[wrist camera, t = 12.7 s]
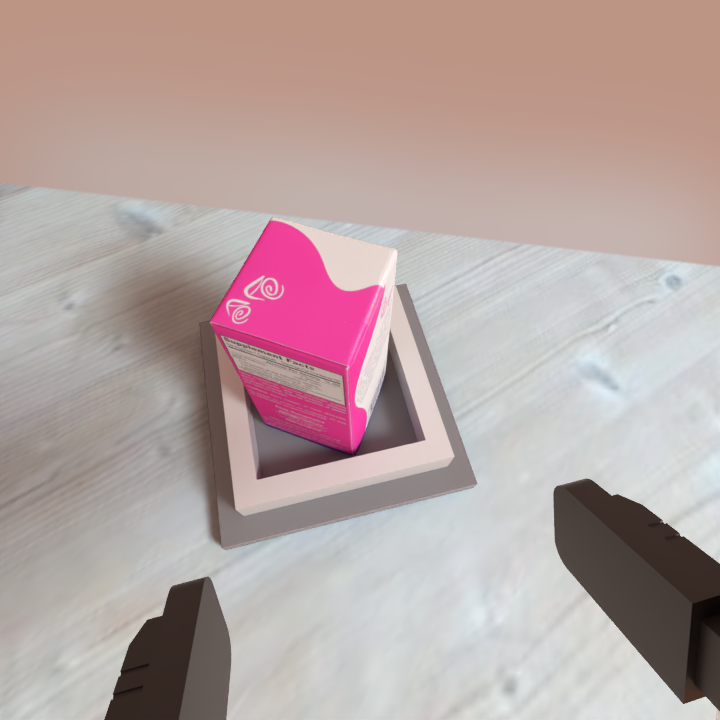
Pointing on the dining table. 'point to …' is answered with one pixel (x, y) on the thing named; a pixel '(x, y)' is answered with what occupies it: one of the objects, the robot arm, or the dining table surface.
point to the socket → (327, 466)
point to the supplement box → (311, 331)
